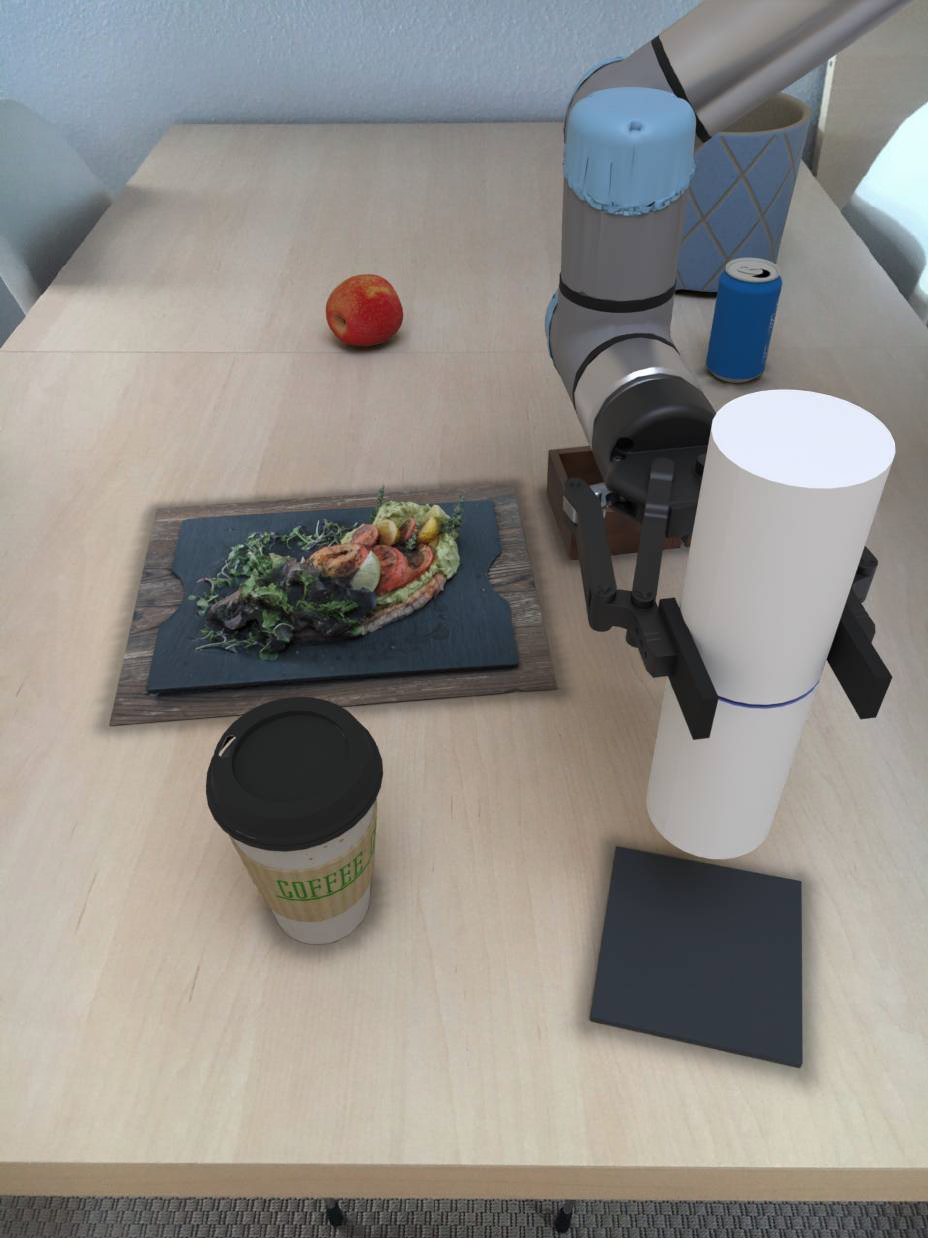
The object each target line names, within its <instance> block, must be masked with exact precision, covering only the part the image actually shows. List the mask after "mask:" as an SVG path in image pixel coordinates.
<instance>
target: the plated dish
mask: <svg viewBox="0 0 928 1238" xmlns="http://www.w3.org/2000/svg"><path fill="white" fill-rule="evenodd" d="M385 488H386V486H385V485H384V484H383V485H382V487H380V488H379V490H378V493H377V492H376V493H375V492H374V493H361V494H350V495H349V494H345V495H332V496H320V497H319V496H317V497H315V496H314V497H302V498H288V499H287V498H286V499H273V500H272V499H271V500H257V501H242V502H241V501H240V502H229V503H228V502H227V503H214V504H212V503H211V504H200V505H199V504H197V505H188V506H187V505H184V506H169V507H168V506H167V507H166V506H165V507H157V508H156V511H155V515H154V519H153V524H152V529H151V533H150V536H149V542H148V545H147V551H146V555H145V560H144V563H143V568H142V573H141V578H140V583H139V586H138V587H139V588H138V592H137V595H136V601H135V606H134V609H133V615H132V619H131V623H130V628H129V629H130V630H129V634H128V638H127V643H126V646H125V647H126V648H125V652H124V656H123V660H122V664H121V670H120V674H119V679H118V683H117V689H116V691H115V692H116V693H115V697H114V701H113V706H112V710H111V714H110V719H109V723H108V726H119V725H120V726H121V725H122V726H123V725H133V724H142V723H143V724H145V723H155V722H157V723H158V722H166V721H168V722H169V721H180V720H192V719H204V718H216V717H226V716H227V717H229V716H237V715H240V716H241V715H243V714H245V713H247V712H248V711H250V710H252V709H254V708H255V707H257V706H260V705H262V704H265V703H267V702H270V701H274V700H278V699H282V698H291V697H313V698H318V699H323V700H327V701H329V702H332V703H335V704H337V705H339V706H341V707H346V706H360V705H370V704H382V703H394V702H407V701H419V700H421V701H422V700H433V699H443V698H444V699H445V698H455V697H456V698H457V697H467V696H470V697H471V696H481V695H494V694H503V693H504V694H505V693H510V692H514V691H516V690H518V691H520V692H529V691H541V690H543V691H544V690H556V689H558V684H557V680H556V679H557V678H556V675H555V671H554V665H553V662H552V657H551V653H550V647H549V644H548V638H547V634H546V630H545V624H544V620H543V616H542V611H541V606H540V602H539V597H538V593H537V588H536V584H535V579H534V575H533V571H532V565H531V561H530V557H529V551H528V548H527V543H526V538H525V533H524V529H523V524H522V520H521V516H520V515H521V514H520V511H519V507H518V506H519V505H518V501H517V497H516V493H515V488H514V484H513V483H511V484H497V485H495V484H494V485H479V486H468V487H466V486H465V487H450V488H449V487H448V488H435V489H420V490H406V491H389V492H385ZM252 620H253V621H252ZM255 620H256V621H255ZM247 621H252V623H253V624H251V625H249V626H248V627H247V628H245V629H242V630H240V632H239V631H238V630H239V629H241V628H243V627H245V626H246V624H247Z"/></svg>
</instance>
